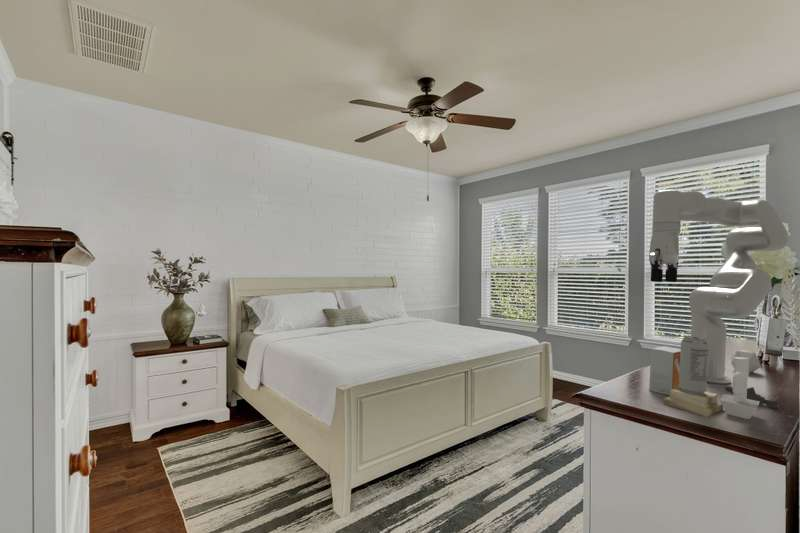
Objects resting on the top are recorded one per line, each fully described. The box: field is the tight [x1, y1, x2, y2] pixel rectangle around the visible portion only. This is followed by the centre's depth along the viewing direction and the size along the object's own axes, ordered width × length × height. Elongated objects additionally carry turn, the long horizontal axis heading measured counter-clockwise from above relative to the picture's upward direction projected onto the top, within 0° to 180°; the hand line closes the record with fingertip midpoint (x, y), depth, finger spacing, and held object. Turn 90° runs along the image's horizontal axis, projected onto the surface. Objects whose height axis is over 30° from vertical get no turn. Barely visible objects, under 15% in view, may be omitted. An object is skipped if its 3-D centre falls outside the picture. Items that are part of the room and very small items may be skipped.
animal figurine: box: [724, 386, 779, 410], centre depth 111 cm, size 12×4×5 cm, turn 43°
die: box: [729, 349, 761, 374], centre depth 145 cm, size 8×9×10 cm
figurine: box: [719, 357, 760, 420], centre depth 101 cm, size 7×9×15 cm
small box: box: [648, 345, 681, 397], centre depth 119 cm, size 8×6×13 cm
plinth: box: [663, 387, 724, 417], centre depth 106 cm, size 10×10×4 cm
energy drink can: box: [679, 335, 709, 395], centre depth 106 cm, size 6×6×15 cm
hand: (663, 281), depth 126 cm, fingers open, 9 cm apart
